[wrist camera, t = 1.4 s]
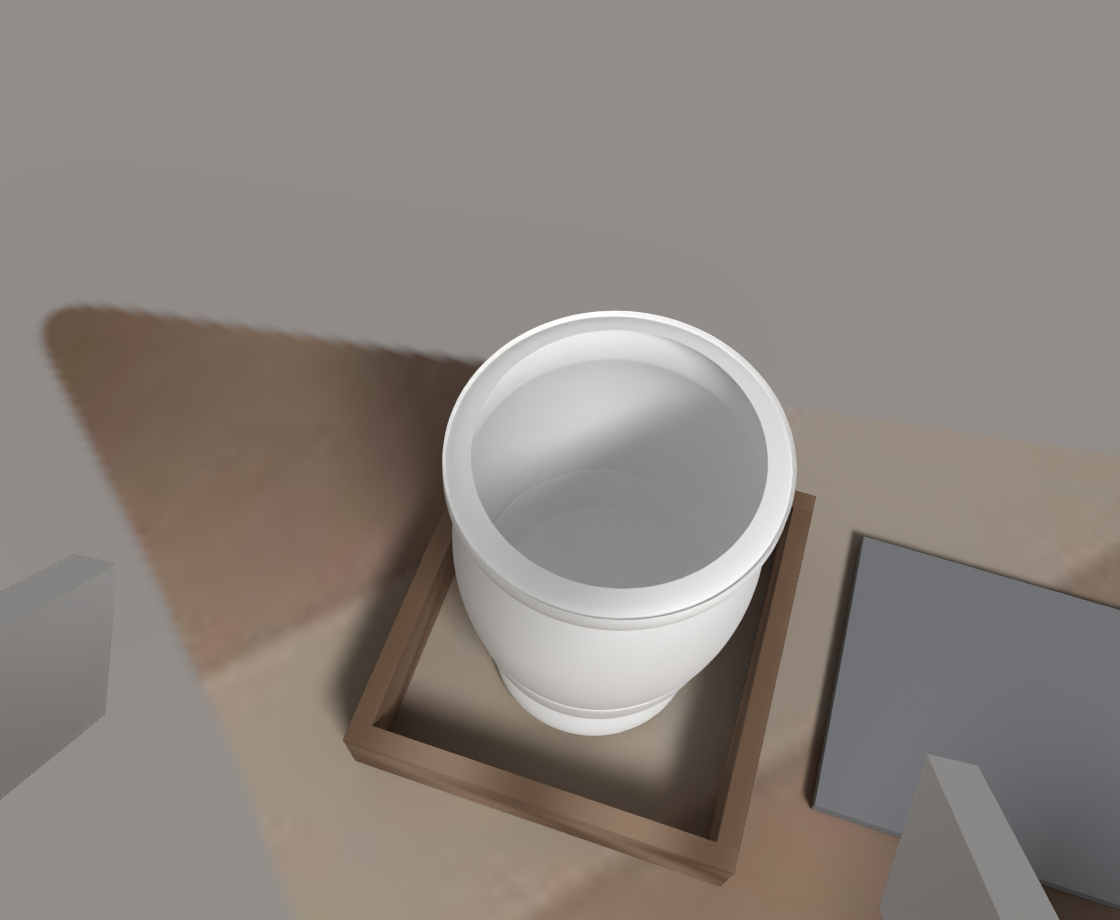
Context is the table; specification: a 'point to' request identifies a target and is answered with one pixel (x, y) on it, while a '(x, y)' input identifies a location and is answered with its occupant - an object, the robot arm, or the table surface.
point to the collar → (554, 805)
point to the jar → (612, 510)
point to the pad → (980, 708)
